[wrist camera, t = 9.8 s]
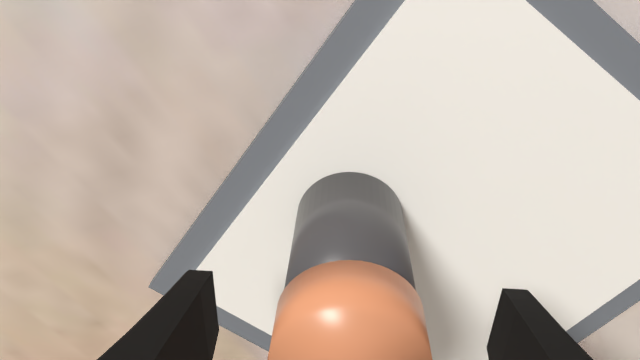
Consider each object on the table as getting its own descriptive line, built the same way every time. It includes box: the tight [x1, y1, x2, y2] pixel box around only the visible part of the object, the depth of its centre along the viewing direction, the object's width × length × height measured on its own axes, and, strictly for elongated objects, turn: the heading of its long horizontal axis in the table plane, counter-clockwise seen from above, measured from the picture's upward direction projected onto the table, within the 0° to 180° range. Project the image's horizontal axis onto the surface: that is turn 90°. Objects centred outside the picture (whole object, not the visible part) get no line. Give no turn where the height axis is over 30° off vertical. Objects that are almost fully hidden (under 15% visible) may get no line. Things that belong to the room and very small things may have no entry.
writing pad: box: [149, 0, 640, 360], centre depth 17 cm, size 14×16×1 cm
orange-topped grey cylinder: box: [268, 172, 432, 360], centre depth 13 cm, size 4×4×6 cm
